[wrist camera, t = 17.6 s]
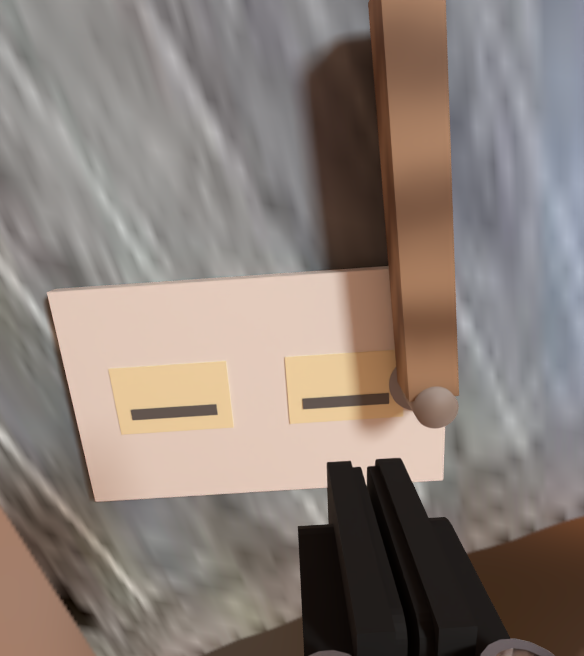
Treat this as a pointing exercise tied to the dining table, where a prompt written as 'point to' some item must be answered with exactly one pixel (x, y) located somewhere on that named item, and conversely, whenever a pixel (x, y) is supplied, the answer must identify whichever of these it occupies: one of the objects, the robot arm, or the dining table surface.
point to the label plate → (237, 383)
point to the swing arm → (418, 199)
